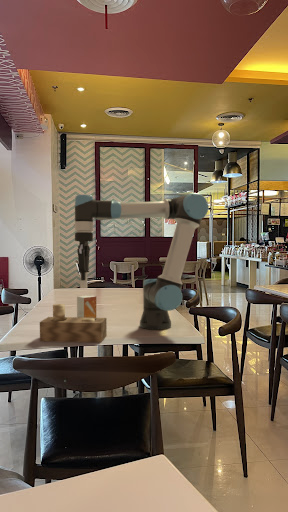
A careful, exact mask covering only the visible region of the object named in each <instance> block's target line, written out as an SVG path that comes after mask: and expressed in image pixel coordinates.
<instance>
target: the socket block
mask: <svg viewBox="0 0 288 512" xmlns="http://www.w3.org/2000/svg"><path fill="white" fill-rule="evenodd" d="M83 319H85V318H84V317H77V316H76V317H75V316H73V317H72V316H70V317H69V316H65V321H53V316H48V317H46V318H44V319H42V320H40V322H39V342H63V343H64V342H66V343H102V342H104V340H105V339H106V338H107V329H108V328H107V326H108V325H107V317H96V318H94V319H95V321H94V322H84V321H83Z"/></svg>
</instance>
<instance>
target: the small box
mask: <svg viewBox="0 0 288 512" xmlns="http://www.w3.org/2000/svg"><path fill="white" fill-rule="evenodd" d="M76 317H84V318H97V296H96V295H81V296H76Z"/></svg>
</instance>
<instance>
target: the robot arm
mask: <svg viewBox="0 0 288 512" xmlns="http://www.w3.org/2000/svg"><path fill="white" fill-rule="evenodd" d="M74 199H75V200H74V224H73V227H74V231H75V232H74V241H75V242H79V245H78V246H77V247H78V248H77V249H76V251H77V257H78V258H77V261H78V263H77V264H78V274H79V277H80V278H79V282H80V283H79V288H80V289H88V273H90V270H89V269H90V268H89V267H90V266H89V265H90V264H89V263H90V251H91V248H90V245H89V242H93V240H94V233H93V232H94V219H95V220H97V221H103V220H124V219H125V220H126V219H149V218H154V219H155V218H163V219H164V220H174V221H175V222H176V225H175V228H174V232H173V236H172V240H171V244H170V245H169V250H168V253H167V257H166V260H165V263H164V267H163V271H162V274H160V275H158V276H157V278H148V279H144V280H143V286H142V288H143V289H142V291H143V292H142V294H143V295H142V296H143V297H142V298H143V299H142V300H143V307H142V308H143V311H142V314H141V318H140V321H139V327H140V328H142V329H144V330H145V329H146V330H157V331H158V330H165V329H166V330H167V329H169V328H171V327H172V321H171V317H170V314H169V311H174V310H175V309H177V308H178V307H179V306H180V305H181V303H182V302H183V293H182V287H183V282H182V275H183V272H184V269H185V265H186V261H187V257H188V255H189V251H190V248H191V244H192V241H193V237H194V234H195V230H196V229H198V228H199V227H200V225H201V223H202V219H203V218H205V216H207V214H208V212H209V202H208V201H207V199H206V197H205V195H202V194H200V193H198V192H197V193H196V192H192V193H187V194H184V195H181V196H176V197H173V198H165V199H163V200H162V201H136V202H135V201H134V202H133V201H131V202H129V201H127V202H120V201H117V200H95V199H94V197H93V195H91V194H77V195H75V198H74Z"/></svg>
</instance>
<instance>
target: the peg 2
mask: <svg viewBox="0 0 288 512" xmlns="http://www.w3.org/2000/svg"><path fill="white" fill-rule="evenodd" d="M83 321H84V322H94V321H95V319H94V318H85V319H83Z"/></svg>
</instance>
